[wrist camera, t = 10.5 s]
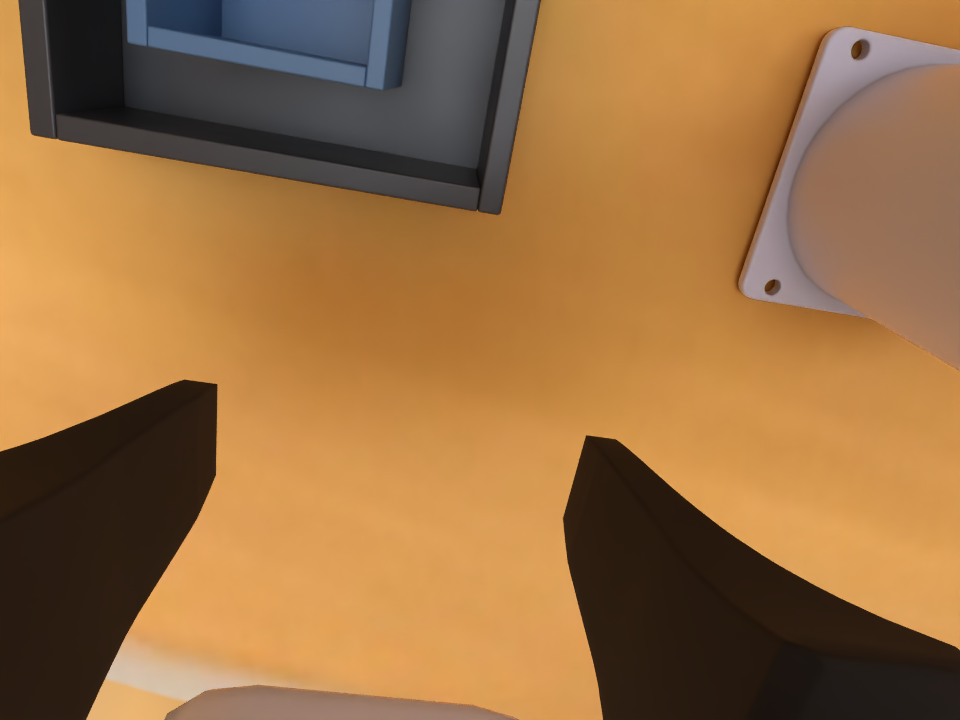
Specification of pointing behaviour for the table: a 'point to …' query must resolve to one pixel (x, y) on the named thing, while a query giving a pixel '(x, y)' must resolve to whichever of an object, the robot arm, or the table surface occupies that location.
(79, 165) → the table surface
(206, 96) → the charcoal bin
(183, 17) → the blue bin
